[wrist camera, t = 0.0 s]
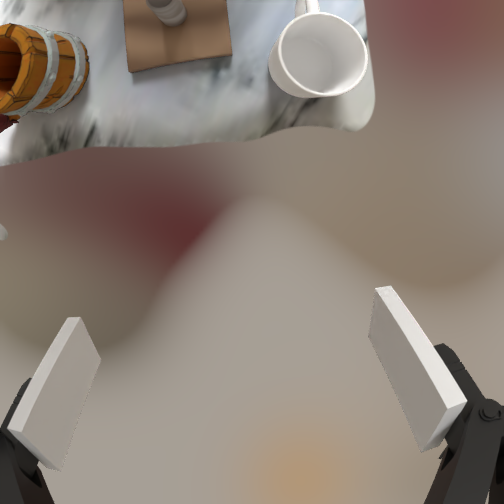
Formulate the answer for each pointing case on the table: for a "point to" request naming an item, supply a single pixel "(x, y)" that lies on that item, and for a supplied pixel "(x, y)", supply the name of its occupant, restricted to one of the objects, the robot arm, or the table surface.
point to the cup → (317, 54)
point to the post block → (174, 32)
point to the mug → (38, 71)
